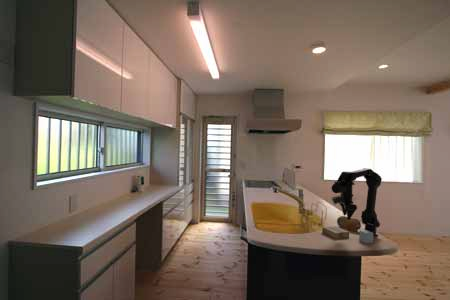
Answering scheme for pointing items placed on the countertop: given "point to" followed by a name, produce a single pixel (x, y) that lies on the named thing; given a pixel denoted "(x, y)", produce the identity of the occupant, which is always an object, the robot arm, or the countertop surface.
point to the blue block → (366, 236)
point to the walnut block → (335, 232)
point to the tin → (349, 223)
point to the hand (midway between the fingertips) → (346, 217)
